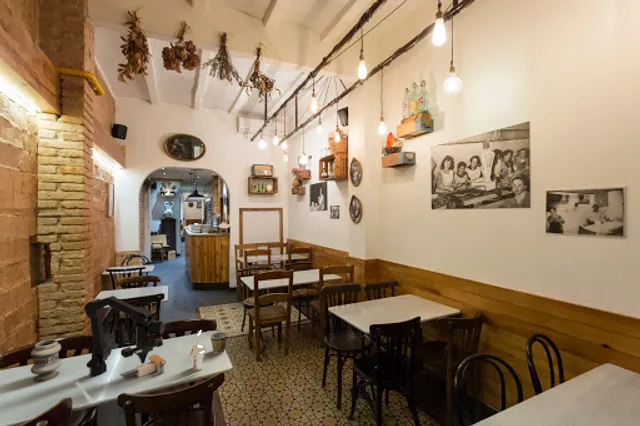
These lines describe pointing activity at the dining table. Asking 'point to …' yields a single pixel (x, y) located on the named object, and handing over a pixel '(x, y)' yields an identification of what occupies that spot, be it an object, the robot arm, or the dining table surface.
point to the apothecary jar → (46, 360)
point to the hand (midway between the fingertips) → (142, 363)
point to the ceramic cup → (218, 342)
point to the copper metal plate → (157, 360)
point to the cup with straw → (197, 355)
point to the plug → (143, 369)
